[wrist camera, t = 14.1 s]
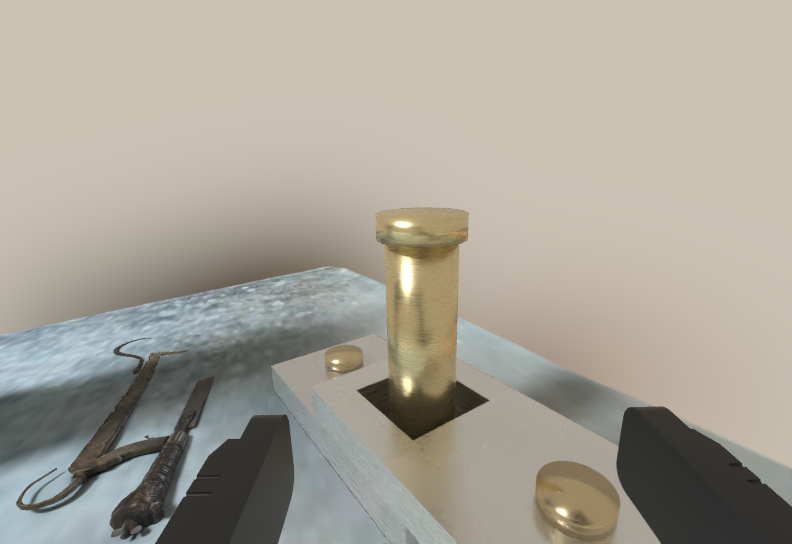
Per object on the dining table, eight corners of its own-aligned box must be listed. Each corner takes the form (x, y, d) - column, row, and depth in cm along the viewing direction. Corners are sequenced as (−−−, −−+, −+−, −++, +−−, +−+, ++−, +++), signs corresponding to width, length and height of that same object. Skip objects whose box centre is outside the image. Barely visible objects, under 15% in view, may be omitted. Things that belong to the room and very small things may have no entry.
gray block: (273, 389, 30) (266, 330, 28) (374, 354, 35) (372, 303, 34) (569, 776, 11) (589, 656, 10) (696, 579, 16) (720, 482, 15)
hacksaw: (157, 545, 18) (151, 519, 18) (-120, 600, 16) (-134, 572, 16) (236, 332, 41) (234, 319, 41) (124, 344, 39) (121, 329, 38)
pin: (370, 472, 22) (358, 217, 18) (402, 424, 26) (398, 206, 22) (447, 498, 20) (453, 222, 16) (469, 443, 24) (478, 209, 20)
